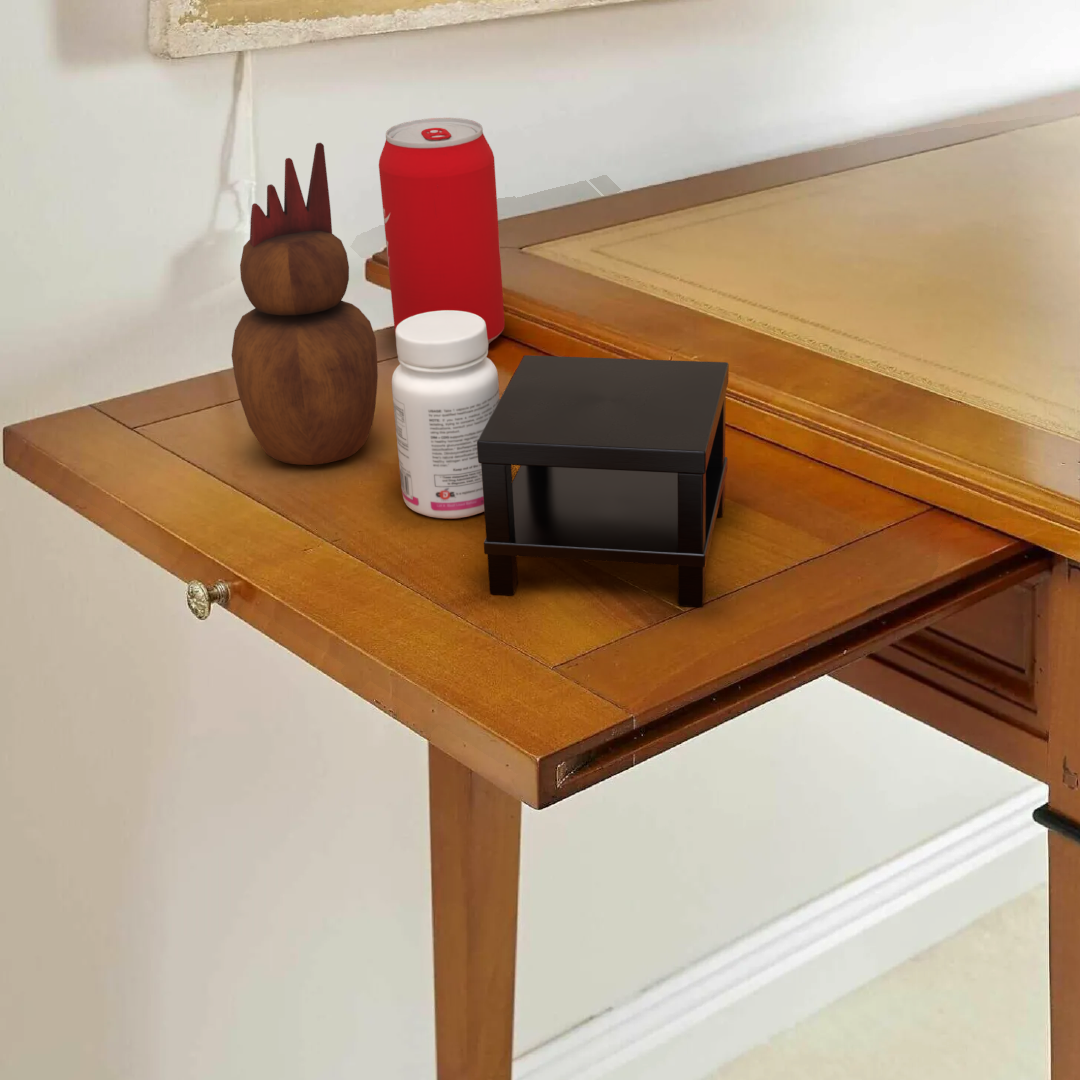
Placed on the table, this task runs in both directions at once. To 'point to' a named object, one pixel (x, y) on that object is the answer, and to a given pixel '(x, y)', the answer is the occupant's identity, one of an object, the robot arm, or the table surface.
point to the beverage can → (442, 220)
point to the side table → (606, 465)
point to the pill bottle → (442, 410)
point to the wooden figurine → (302, 331)
